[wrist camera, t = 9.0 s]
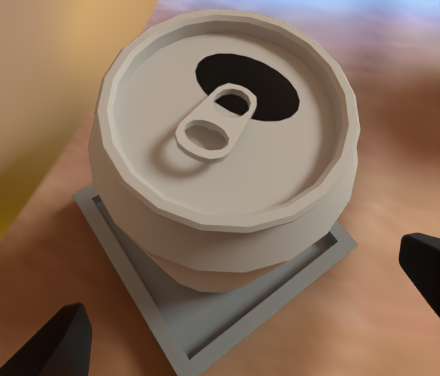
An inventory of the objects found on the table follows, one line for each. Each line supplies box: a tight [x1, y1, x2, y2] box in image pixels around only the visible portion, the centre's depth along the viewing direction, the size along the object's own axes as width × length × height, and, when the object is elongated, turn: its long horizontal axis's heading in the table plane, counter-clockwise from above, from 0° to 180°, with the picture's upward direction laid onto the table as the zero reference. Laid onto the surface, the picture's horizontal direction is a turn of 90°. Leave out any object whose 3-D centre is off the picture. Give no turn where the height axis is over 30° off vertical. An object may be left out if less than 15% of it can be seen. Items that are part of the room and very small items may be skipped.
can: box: [88, 9, 360, 293], centre depth 13 cm, size 8×8×12 cm
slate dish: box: [72, 184, 358, 376], centre depth 18 cm, size 12×12×2 cm
